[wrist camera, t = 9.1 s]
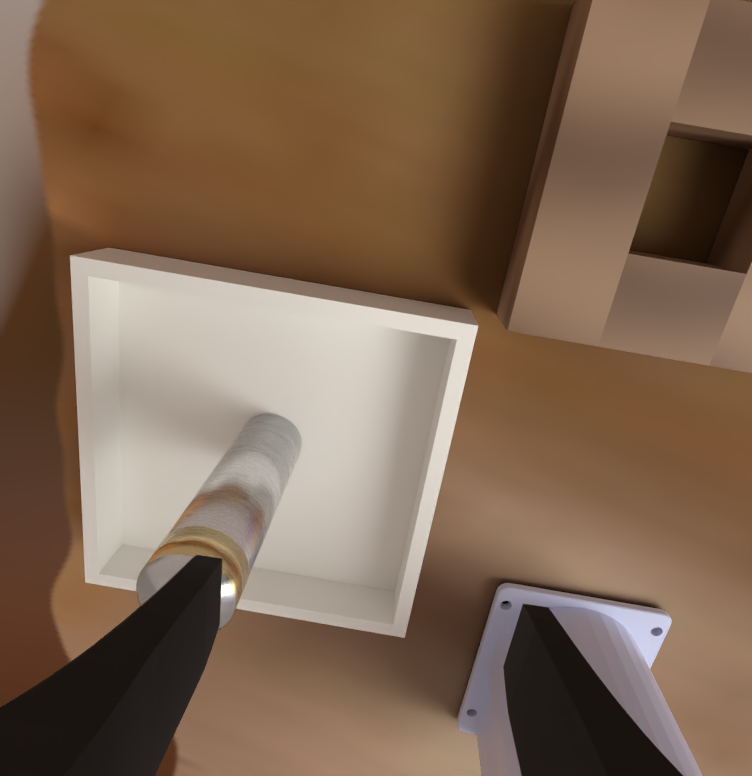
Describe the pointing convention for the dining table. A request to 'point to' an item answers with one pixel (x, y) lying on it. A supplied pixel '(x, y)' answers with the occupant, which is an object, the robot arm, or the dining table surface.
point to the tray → (260, 396)
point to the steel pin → (230, 511)
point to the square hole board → (637, 185)
